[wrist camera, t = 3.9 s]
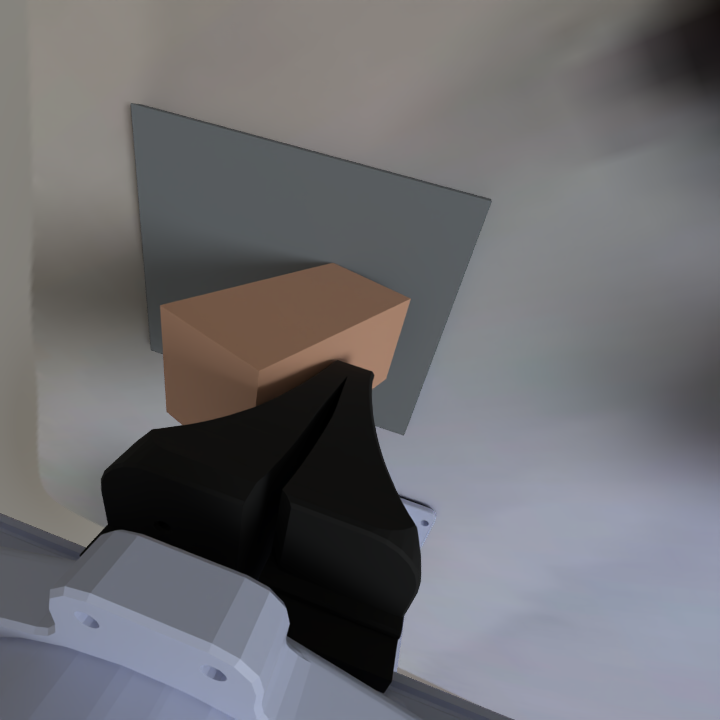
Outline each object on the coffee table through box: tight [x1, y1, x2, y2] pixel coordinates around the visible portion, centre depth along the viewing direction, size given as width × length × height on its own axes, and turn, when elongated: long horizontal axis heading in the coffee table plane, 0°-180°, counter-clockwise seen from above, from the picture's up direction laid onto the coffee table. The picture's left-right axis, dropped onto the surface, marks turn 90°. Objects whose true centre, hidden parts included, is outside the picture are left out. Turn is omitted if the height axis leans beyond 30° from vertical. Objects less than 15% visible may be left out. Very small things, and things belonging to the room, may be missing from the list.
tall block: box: [160, 263, 411, 425], centre depth 14 cm, size 4×4×8 cm
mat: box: [131, 103, 492, 435], centre depth 19 cm, size 12×15×1 cm
